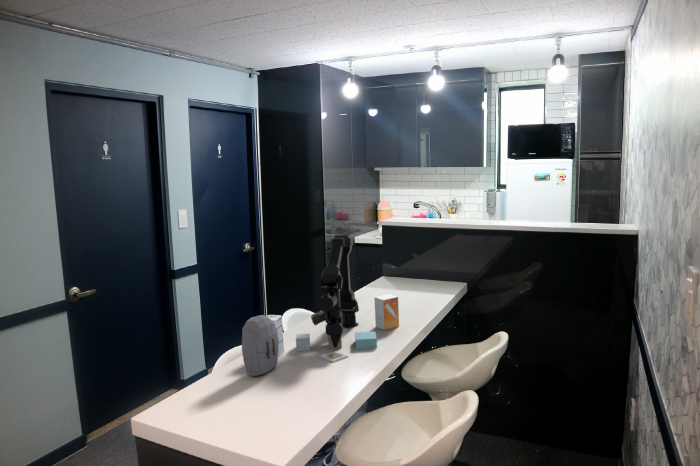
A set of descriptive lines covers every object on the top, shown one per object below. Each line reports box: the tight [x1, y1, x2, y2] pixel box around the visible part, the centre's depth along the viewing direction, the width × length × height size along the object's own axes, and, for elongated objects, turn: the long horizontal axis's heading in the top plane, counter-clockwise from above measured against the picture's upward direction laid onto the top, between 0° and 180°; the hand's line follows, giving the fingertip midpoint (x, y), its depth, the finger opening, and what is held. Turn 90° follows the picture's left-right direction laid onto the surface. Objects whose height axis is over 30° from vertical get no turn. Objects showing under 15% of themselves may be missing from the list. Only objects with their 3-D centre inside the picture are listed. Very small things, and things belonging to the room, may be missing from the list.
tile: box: [321, 350, 349, 363], centre depth 186 cm, size 7×7×1 cm
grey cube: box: [295, 333, 311, 352], centre depth 196 cm, size 5×5×5 cm
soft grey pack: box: [241, 314, 279, 377], centre depth 174 cm, size 15×8×20 cm, turn 150°
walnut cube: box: [327, 334, 343, 350], centre depth 197 cm, size 5×5×5 cm
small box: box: [374, 293, 400, 331], centre depth 215 cm, size 8×6×13 cm
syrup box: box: [266, 314, 285, 358], centre depth 191 cm, size 6×6×14 cm
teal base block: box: [354, 330, 378, 350], centre depth 196 cm, size 8×8×4 cm
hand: (335, 343), depth 197 cm, fingers open, 9 cm apart
